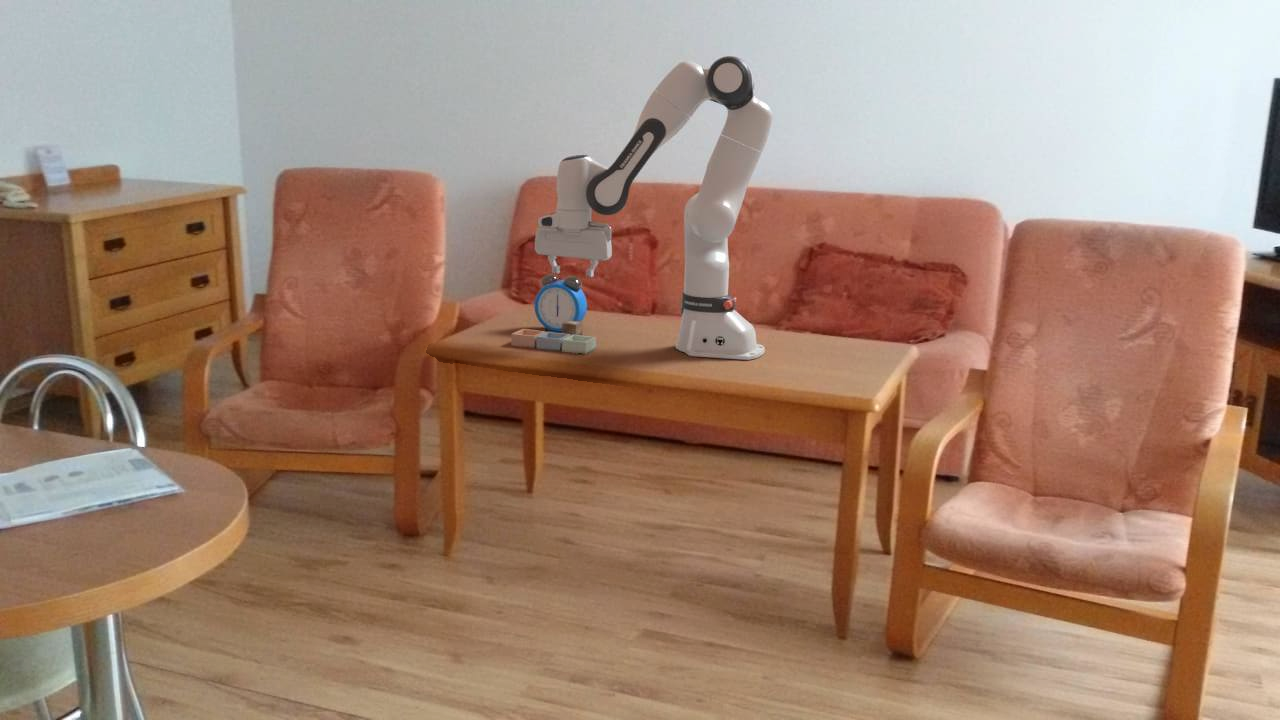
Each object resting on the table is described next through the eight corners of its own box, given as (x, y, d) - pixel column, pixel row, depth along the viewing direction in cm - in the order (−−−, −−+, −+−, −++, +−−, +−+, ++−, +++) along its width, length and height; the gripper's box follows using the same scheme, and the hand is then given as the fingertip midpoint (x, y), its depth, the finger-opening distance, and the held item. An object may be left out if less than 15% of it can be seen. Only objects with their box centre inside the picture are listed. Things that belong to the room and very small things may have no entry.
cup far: (545, 342, 288) (545, 331, 287) (534, 348, 282) (534, 336, 281) (523, 340, 290) (523, 328, 289) (511, 345, 284) (511, 333, 284)
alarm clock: (533, 330, 301) (533, 275, 298) (543, 325, 307) (543, 271, 303) (578, 335, 297) (579, 279, 294) (587, 330, 303) (588, 275, 299)
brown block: (582, 340, 292) (582, 321, 290) (576, 344, 288) (576, 324, 287) (568, 339, 293) (568, 320, 292) (561, 342, 289) (562, 323, 288)
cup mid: (570, 345, 285) (570, 334, 285) (559, 351, 280) (559, 339, 279) (547, 343, 288) (547, 331, 287) (536, 348, 282) (536, 336, 281)
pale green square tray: (595, 348, 283) (596, 337, 282) (585, 354, 277) (585, 342, 277) (572, 346, 285) (572, 334, 285) (561, 351, 279) (562, 339, 279)
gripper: (616, 222, 282) (615, 276, 285) (543, 216, 289) (542, 269, 293) (606, 225, 276) (605, 280, 280) (532, 218, 283) (531, 272, 287)
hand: (572, 274), depth 286 cm, fingers open, 8 cm apart
